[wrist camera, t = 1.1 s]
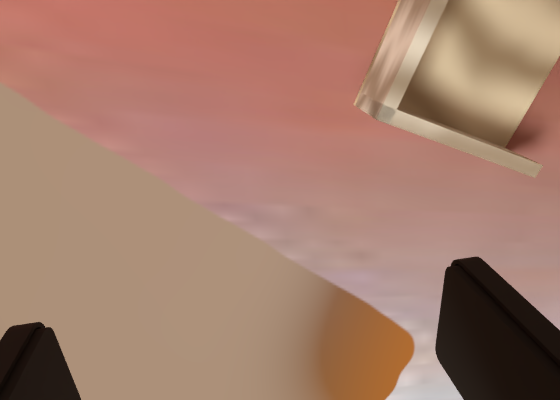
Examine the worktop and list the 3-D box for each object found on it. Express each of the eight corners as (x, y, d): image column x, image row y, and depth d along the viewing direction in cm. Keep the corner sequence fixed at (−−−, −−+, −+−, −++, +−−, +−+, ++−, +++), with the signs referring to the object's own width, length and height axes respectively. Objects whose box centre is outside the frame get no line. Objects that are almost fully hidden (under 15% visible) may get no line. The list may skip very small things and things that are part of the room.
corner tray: (455, -133, 29) (505, -162, 24) (610, -39, 34) (678, -48, 29) (353, 104, 36) (376, 119, 31) (495, 157, 40) (535, 177, 35)
